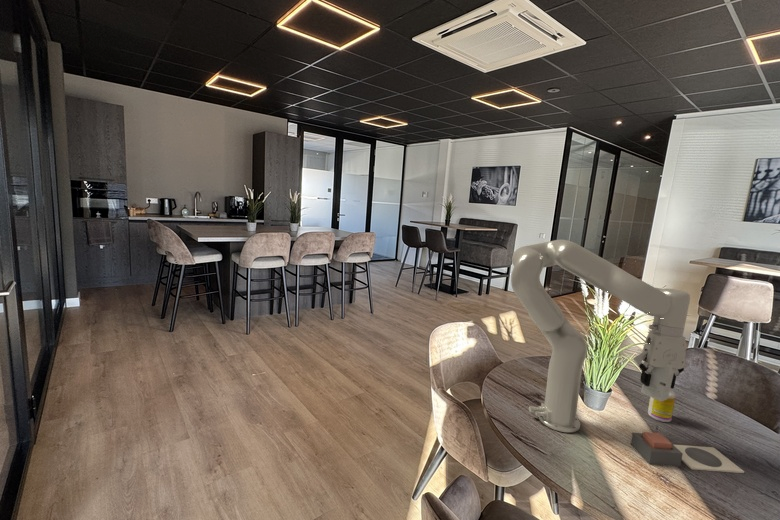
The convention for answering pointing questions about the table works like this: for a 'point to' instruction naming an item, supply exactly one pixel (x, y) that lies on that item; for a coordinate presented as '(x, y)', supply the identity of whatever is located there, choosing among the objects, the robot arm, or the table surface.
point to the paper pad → (706, 459)
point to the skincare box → (659, 383)
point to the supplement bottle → (662, 408)
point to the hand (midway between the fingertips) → (656, 384)
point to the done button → (656, 440)
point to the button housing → (656, 452)
